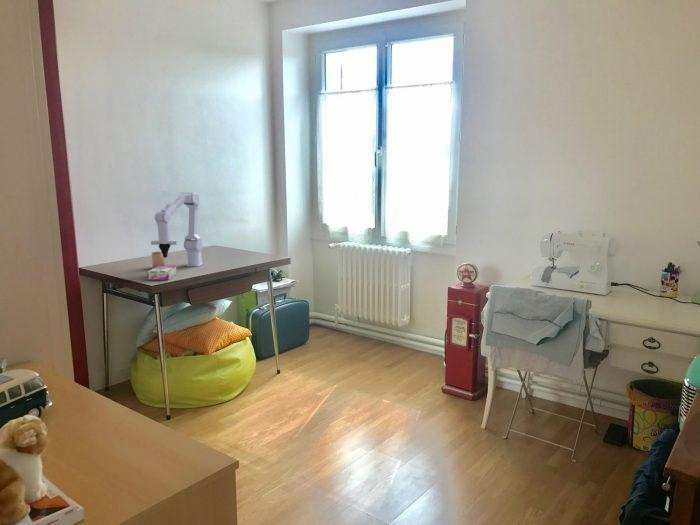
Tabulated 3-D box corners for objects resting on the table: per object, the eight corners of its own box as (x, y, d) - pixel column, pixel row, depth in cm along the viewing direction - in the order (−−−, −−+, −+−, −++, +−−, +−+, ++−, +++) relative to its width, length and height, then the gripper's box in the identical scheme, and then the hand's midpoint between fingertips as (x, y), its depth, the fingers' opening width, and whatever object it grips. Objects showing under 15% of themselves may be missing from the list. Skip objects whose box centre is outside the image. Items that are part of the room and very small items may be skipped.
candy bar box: (157, 274, 315) (147, 280, 299) (156, 265, 314) (147, 271, 298) (177, 273, 315) (168, 280, 299) (176, 265, 314) (168, 271, 298)
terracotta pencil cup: (155, 266, 335) (154, 251, 333) (166, 266, 335) (165, 251, 333) (150, 268, 328) (149, 253, 326) (162, 268, 328) (161, 253, 326)
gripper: (148, 234, 307) (149, 258, 309) (173, 234, 306) (175, 258, 309) (153, 232, 314) (154, 256, 316) (178, 232, 313) (180, 256, 315)
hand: (165, 257), depth 313 cm, fingers closed
